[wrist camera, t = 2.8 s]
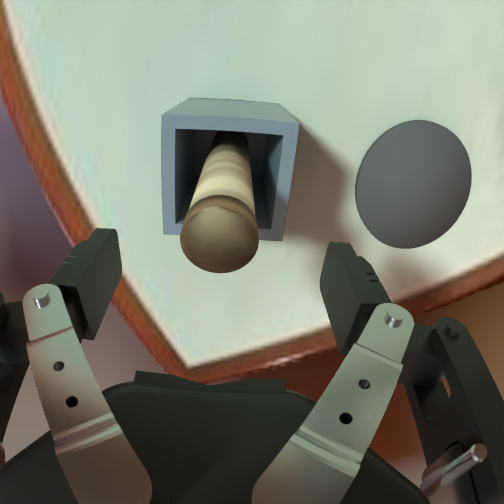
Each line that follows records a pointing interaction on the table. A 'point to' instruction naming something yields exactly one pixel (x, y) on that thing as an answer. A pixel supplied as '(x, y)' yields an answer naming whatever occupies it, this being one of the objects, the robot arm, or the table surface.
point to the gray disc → (413, 184)
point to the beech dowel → (222, 209)
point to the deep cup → (197, 147)
